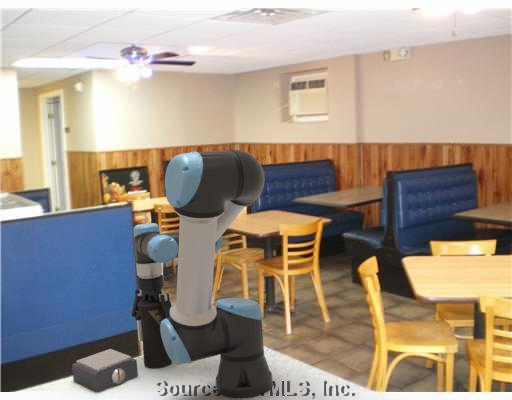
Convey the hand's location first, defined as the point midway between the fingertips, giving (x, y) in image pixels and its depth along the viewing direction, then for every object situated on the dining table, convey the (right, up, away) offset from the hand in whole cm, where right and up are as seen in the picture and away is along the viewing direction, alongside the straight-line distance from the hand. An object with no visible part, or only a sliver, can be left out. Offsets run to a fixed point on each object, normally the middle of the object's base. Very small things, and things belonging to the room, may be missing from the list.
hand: (156, 344), depth 168 cm
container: (+1, -6, 0) cm, 6 cm away
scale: (-13, -8, -9) cm, 17 cm away
